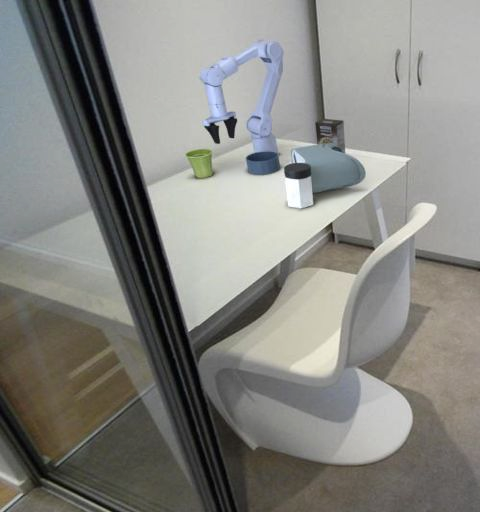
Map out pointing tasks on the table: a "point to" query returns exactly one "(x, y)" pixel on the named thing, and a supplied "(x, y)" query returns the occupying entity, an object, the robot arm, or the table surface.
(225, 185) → the table surface
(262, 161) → the tub
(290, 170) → the jar
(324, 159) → the grey-blue rounded tapered piece
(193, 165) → the plant pot
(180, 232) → the table surface
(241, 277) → the table surface
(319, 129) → the coffee box
